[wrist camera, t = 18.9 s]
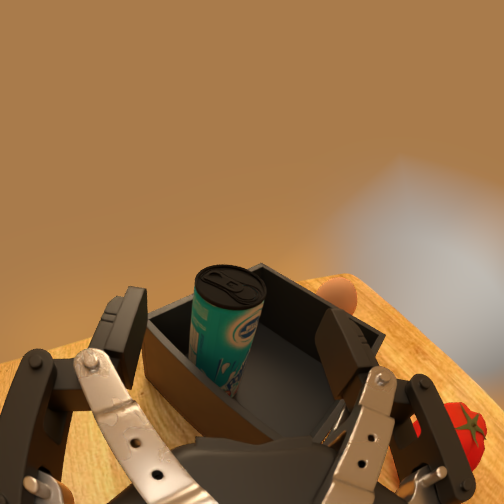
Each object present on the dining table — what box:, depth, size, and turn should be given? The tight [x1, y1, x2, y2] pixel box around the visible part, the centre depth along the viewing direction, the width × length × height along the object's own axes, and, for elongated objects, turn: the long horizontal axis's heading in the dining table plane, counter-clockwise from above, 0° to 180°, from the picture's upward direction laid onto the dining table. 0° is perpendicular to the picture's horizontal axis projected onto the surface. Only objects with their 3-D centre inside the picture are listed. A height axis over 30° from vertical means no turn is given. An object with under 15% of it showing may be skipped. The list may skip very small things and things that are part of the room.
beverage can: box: [188, 265, 267, 397], centre depth 26 cm, size 6×6×15 cm
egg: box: [316, 277, 357, 315], centre depth 44 cm, size 7×7×8 cm
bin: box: [141, 263, 386, 445], centre depth 29 cm, size 20×20×10 cm
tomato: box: [413, 402, 487, 471], centre depth 19 cm, size 12×12×10 cm
